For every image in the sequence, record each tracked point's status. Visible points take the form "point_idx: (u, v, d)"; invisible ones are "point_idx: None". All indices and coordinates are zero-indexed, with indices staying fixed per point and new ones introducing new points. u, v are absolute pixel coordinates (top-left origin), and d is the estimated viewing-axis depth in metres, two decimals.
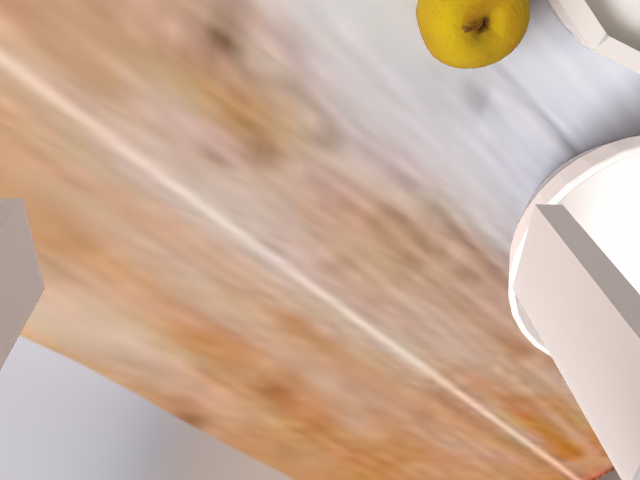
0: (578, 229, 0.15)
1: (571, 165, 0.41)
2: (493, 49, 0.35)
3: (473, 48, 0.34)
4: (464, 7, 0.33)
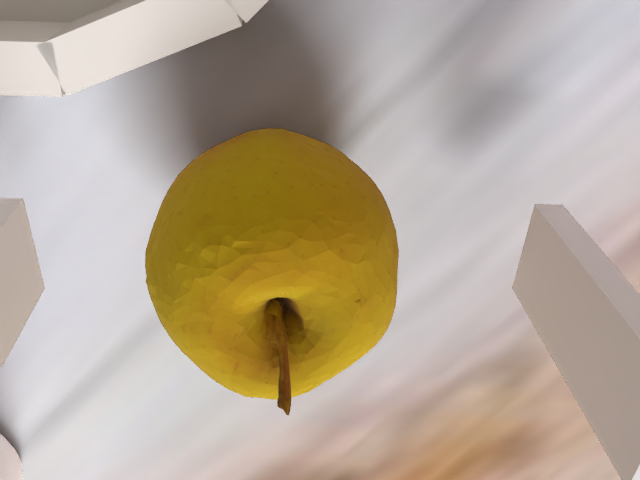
0: (578, 229, 0.15)
1: None
2: (345, 296, 0.13)
3: (339, 343, 0.13)
4: (237, 379, 0.13)
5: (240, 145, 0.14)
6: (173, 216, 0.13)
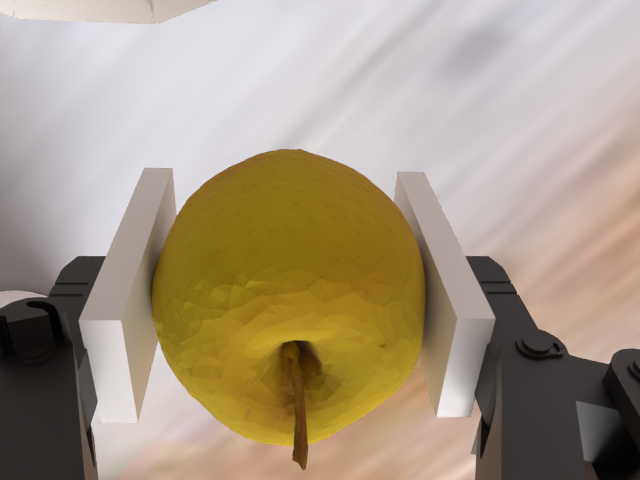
0: (428, 192, 0.16)
1: None
2: (369, 341, 0.12)
3: (361, 390, 0.12)
4: (249, 427, 0.12)
5: (255, 170, 0.12)
6: (182, 248, 0.12)
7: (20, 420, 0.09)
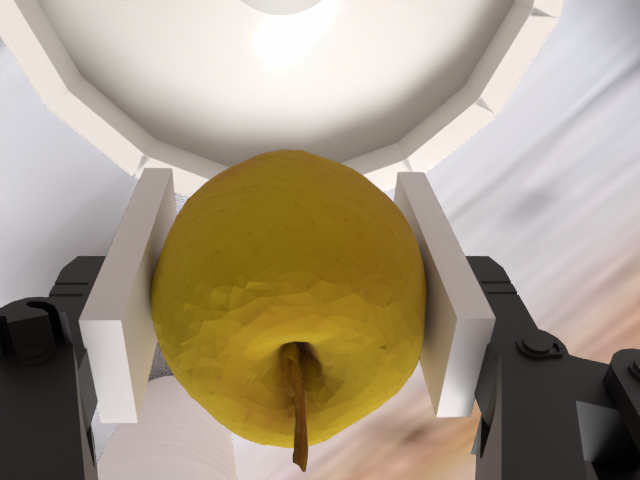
0: (428, 192, 0.16)
1: None
2: (369, 342, 0.12)
3: (361, 392, 0.12)
4: (249, 428, 0.12)
5: (255, 170, 0.12)
6: (181, 249, 0.12)
7: (20, 420, 0.09)
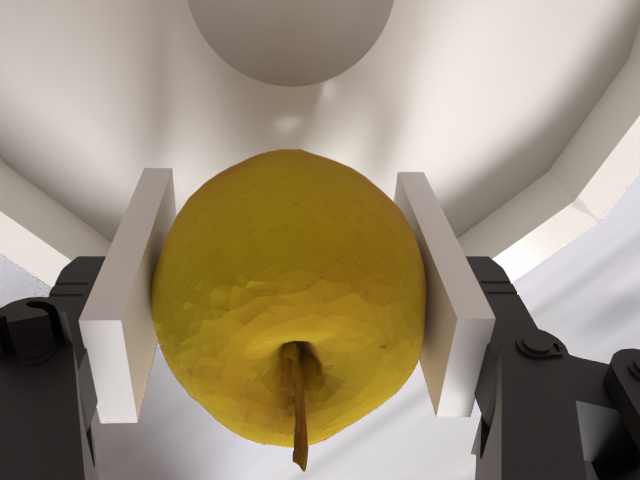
0: (428, 192, 0.16)
1: None
2: (369, 341, 0.12)
3: (362, 391, 0.12)
4: (249, 427, 0.12)
5: (256, 170, 0.12)
6: (181, 249, 0.12)
7: (20, 420, 0.09)
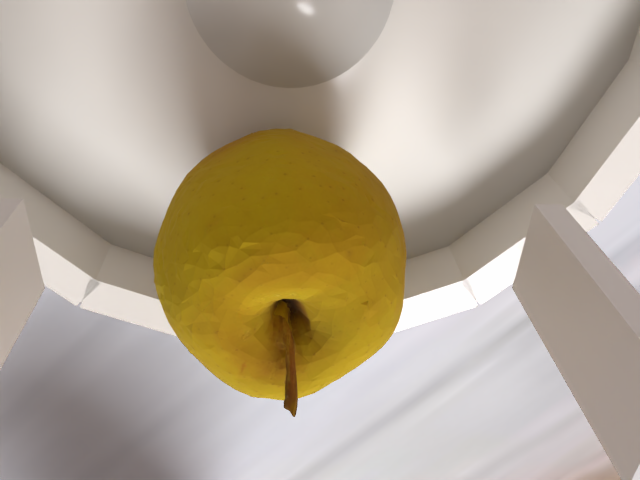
0: (578, 229, 0.15)
1: None
2: (352, 298, 0.13)
3: (346, 346, 0.13)
4: (244, 380, 0.13)
5: (248, 145, 0.14)
6: (181, 216, 0.13)
7: None
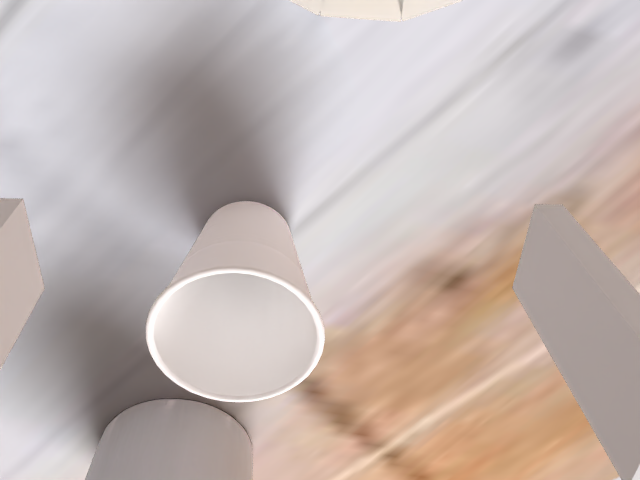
0: (578, 229, 0.15)
1: None
2: None
3: None
4: None
5: None
6: None
7: None
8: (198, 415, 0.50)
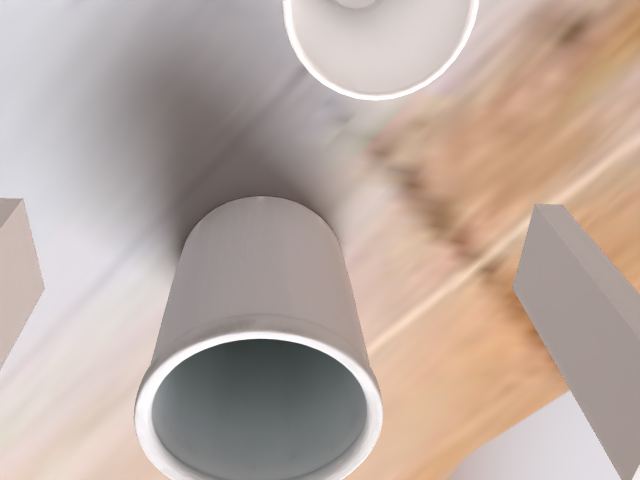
0: (578, 229, 0.15)
1: None
2: None
3: None
4: None
5: None
6: None
7: None
8: (292, 208, 0.46)
